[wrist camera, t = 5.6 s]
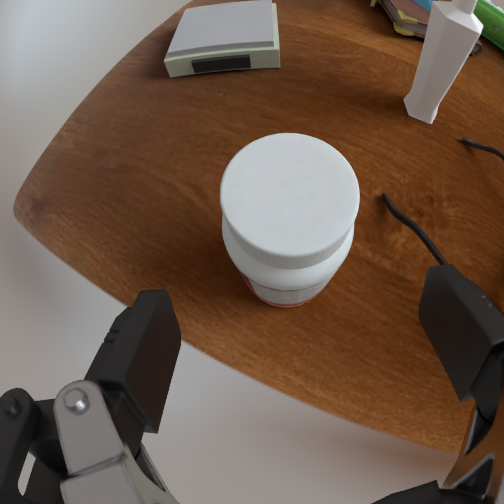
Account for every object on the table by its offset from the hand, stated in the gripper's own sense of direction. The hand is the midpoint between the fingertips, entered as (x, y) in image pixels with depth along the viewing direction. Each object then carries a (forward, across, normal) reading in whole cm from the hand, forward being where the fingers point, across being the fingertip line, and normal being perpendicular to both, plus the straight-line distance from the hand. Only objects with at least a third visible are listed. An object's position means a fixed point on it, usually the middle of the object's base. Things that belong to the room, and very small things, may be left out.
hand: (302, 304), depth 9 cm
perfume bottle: (+22, -15, -5) cm, 27 cm away
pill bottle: (+12, 0, +6) cm, 13 cm away
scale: (+31, +4, -14) cm, 34 cm away
